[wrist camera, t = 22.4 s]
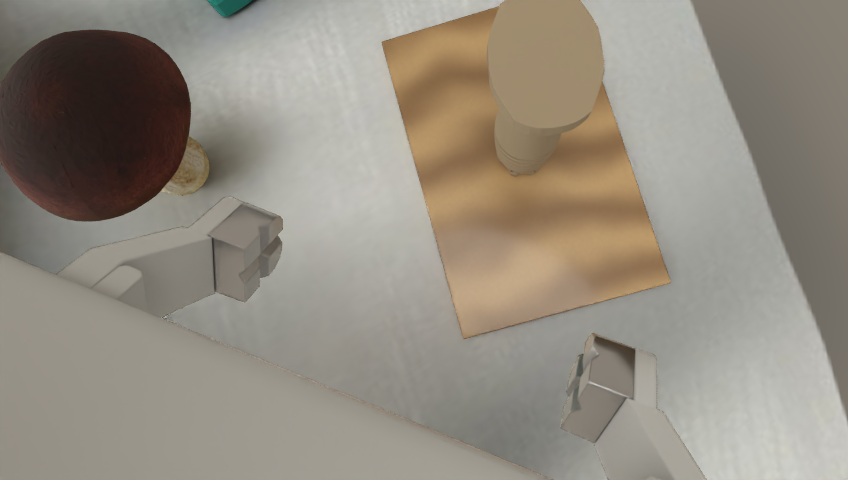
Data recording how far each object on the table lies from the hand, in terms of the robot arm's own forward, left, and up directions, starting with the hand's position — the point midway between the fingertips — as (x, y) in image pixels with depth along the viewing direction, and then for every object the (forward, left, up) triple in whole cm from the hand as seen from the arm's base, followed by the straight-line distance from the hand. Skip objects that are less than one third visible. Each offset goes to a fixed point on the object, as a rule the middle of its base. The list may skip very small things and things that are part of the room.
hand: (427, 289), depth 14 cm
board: (0, +11, -25) cm, 28 cm away
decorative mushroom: (-22, +2, -25) cm, 34 cm away
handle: (0, +11, -25) cm, 27 cm away
